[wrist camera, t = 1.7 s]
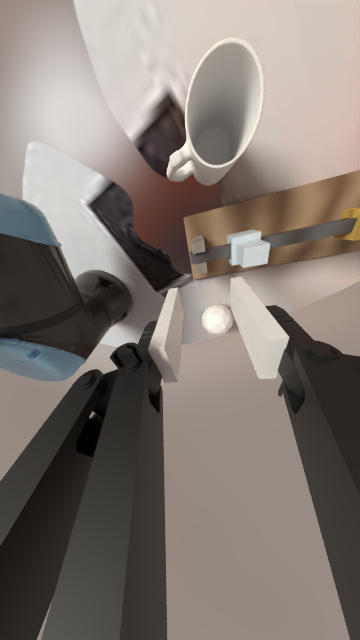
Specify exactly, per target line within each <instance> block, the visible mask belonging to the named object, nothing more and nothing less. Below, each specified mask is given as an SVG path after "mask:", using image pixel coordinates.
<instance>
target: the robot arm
mask: <svg viewBox="0 0 360 640" xmlns="http://www.w3.org/2000/svg"><path fill="white" fill-rule="evenodd" d="M60 247H61V244H60V243H59V242H58V241H57V239H56V237H55V235H54V233H53V231H52V229H51V227H50V225H49V223H48V221H47V219H46V217H45V216H44V214H43V213H42V212H41V211H40V210H39V209H38V208H37V207H36V206H34V205H33V204H31V203H29V202H27V201H25V200H22V199H19V198H16V197H12V196H8V195H4V194H0V368H2V369H4V370H7V371H9V372H12V373H15V374H18V375H21V376H24V377H28V378H32V379H37V380H42V381H61V380H65V379H68V378H69V377H71V376H72V375H73V374H74V373H75V372H76V371H77V370H78V369H79V367H80V366H81V365H82V364H84V363H85V362H86V359H87V358H88V357H89V355H90V354H91V353H92V351H93V350H94V349H95V347H96V346H97V344H98V343H99V342H100V341H101V339H102V338H103V336H104V335H105V334H106V332H107V331H108V330H109V328H110V327H112V326H114V325H116V324H117V323H119V322H121V321H122V320H124V319H125V318H126V317H127V315H128V314H129V312H130V311H131V308H132V299H131V295H130V293H129V291H128V289H127V288H126V287H125V285H124V284H123V283H122V282H121V281H120V280H119V279H117V278H116V277H114V276H113V275H111V274H109V273H107V272H104V271H99V270H90V271H87V272H84V273H83V274H81V275H79V276H77V277H76V278H75V279H74V278H73V276H72V274H71V271H70V269H69V267H68V264H67V262H66V260H65V257H64V255H63V253H62V250H61V248H60ZM231 311H232V313H233V316H234V318H235V321H236V323H237V326H238V328H239V331H240V333H241V336H242V338H243V341H244V343H245V345H246V348H247V351H248V353H249V356H250V358H251V361H252V363H253V366H254V368H255V371H256V373H257V375H258V378H259V379H267V378H276V376H277V373H278V372H279V373H280V375H281V377H282V379H283V381H282V383H281V386H280V388H279V391H278V396H282V393H283V395H284V398H285V402H286V406H287V409H288V413H289V417H290V420H291V424H292V428H293V431H294V435H295V438H296V442H297V446H298V450H299V453H300V457H301V461H302V464H303V468H304V472H305V475H306V479H307V483H308V486H309V490H310V494H311V497H312V501H313V504H314V508H315V512H316V515H317V519H318V523H319V527H320V530H321V534H322V538H323V541H324V545H325V548H326V552H327V556H328V560H329V563H330V567H331V570H332V574H333V578H334V582H335V585H336V589H337V592H338V596H339V600H340V604H341V607H342V611H343V615H344V618H345V622H346V626H347V629H348V633H349V637H350V640H360V357H359V356H352V355H346V354H342V353H341V352H340V351H339V350H338V349H336V348H335V347H333V346H331V345H329V344H326V343H323V342H320V341H314V340H313V339H312V338H311V337H310V336H309V335H308V334H307V333H306V332H305V331H304V330H303V329H302V328H301V327H300V326H299V324H298V323H297V322H296V321H294V319H293V318H292V317H291V316H289V314H288V313H287V312H286V311H285V310H284V309H282V308H280V307H278V306H276V305H272V306H264V305H263V304H262V302H261V301H260V300H259V299H258V297H257V296H256V295H255V293H254V292H253V291H252V290H251V288H250V287H249V286H248V285H247V283H246V282H245V281H244V280H243V278H242V277H236V278H231ZM183 323H184V311H183V307H182V303H181V298H180V294H179V290H178V288H172V289H169V291H168V293H167V296H166V299H165V302H164V305H163V308H162V311H161V313H160V316H159V319H158V321H152V322H150V323H149V324H148V325H147V326H146V327H145V329H144V331H143V334H142V336H141V338H140V340H139V343H138V345H137V344H136V343H126V344H124V345H122V346H120V347H118V348H117V349H116V350H115V351H114V352H113V353H112V355H111V356H110V359H111V360H112V361H113V362H114V364H115V365H116V366H117V368H118V369H117V370H114V371H111V372H109V373H106V374H103V373H102V372H101V371H100V370H97V369H95V370H90V371H88V372H86V373H84V374H83V375H82V376H80V377H79V378H78V379H77V380H76V382H75V383H74V384H73V385H72V387H71V388H70V390H69V391H68V392H67V394H66V395H65V396H64V397H63V399H62V400H61V401H60V403H59V404H58V406H57V407H56V408H55V409H54V411H53V412H52V413H51V415H50V416H49V418H48V419H47V420H46V421H45V423H44V424H43V426H42V427H41V428H40V429H39V431H38V432H37V433H36V435H35V436H34V437H33V439H32V440H31V442H30V443H29V444H28V445H27V447H26V448H25V449H24V451H23V452H22V454H21V455H20V456H19V457H18V459H17V460H16V461H15V463H14V464H13V465H12V467H11V468H10V469H9V471H8V472H7V473H6V475H5V476H4V477H3V479H2V480H1V481H0V640H37V637H38V635H39V632H40V629H41V627H42V624H43V621H44V619H45V617H46V614H47V611H48V609H49V606H50V603H51V601H52V603H51V607H50V611H49V614H48V617H47V621H46V624H45V628H44V631H43V635H42V638H41V640H167V605H166V553H165V499H164V449H163V447H164V446H163V393H162V387H161V385H160V383H161V379H162V378H163V380H164V382H178V373H179V363H180V352H181V343H182V333H183ZM92 411H93V412H94V413H95V414H94V415H93V417H91V418H89V416H90V414H91V413H92ZM52 598H53V600H52Z"/></svg>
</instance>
